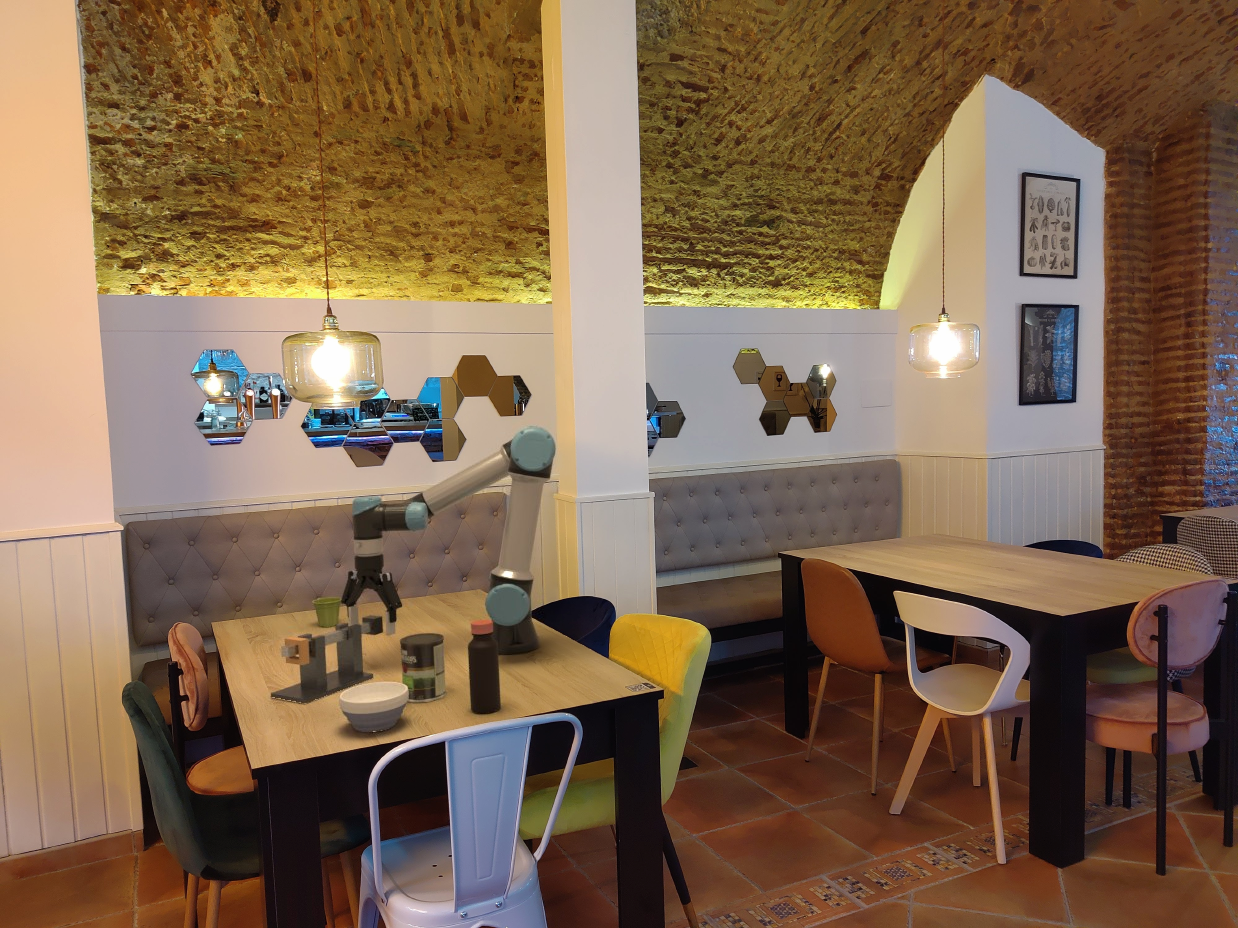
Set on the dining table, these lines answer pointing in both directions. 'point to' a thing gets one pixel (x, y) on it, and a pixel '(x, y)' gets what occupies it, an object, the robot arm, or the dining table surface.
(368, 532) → the robot arm
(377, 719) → the bowl
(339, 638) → the shaft
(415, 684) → the coffee can
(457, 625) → the dining table surface
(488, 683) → the bottle
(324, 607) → the plant pot
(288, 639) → the collar
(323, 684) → the stand
